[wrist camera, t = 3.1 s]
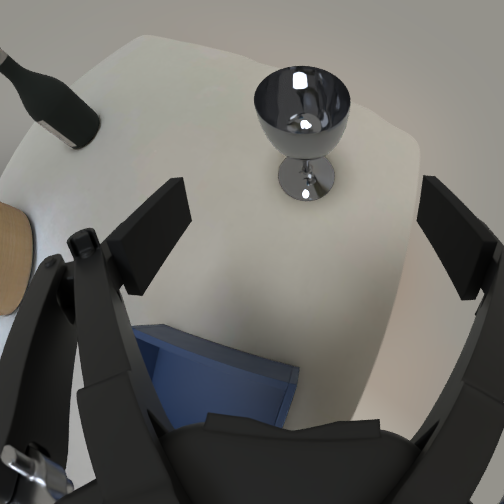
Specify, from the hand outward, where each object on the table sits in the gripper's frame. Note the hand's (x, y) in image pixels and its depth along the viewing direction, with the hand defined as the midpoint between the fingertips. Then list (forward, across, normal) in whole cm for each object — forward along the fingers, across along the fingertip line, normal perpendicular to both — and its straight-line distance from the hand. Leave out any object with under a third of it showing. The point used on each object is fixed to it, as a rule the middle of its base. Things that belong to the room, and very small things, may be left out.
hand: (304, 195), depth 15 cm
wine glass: (+21, 0, -6) cm, 22 cm away
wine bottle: (+31, -40, +3) cm, 50 cm away
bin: (+1, -10, -26) cm, 28 cm away
